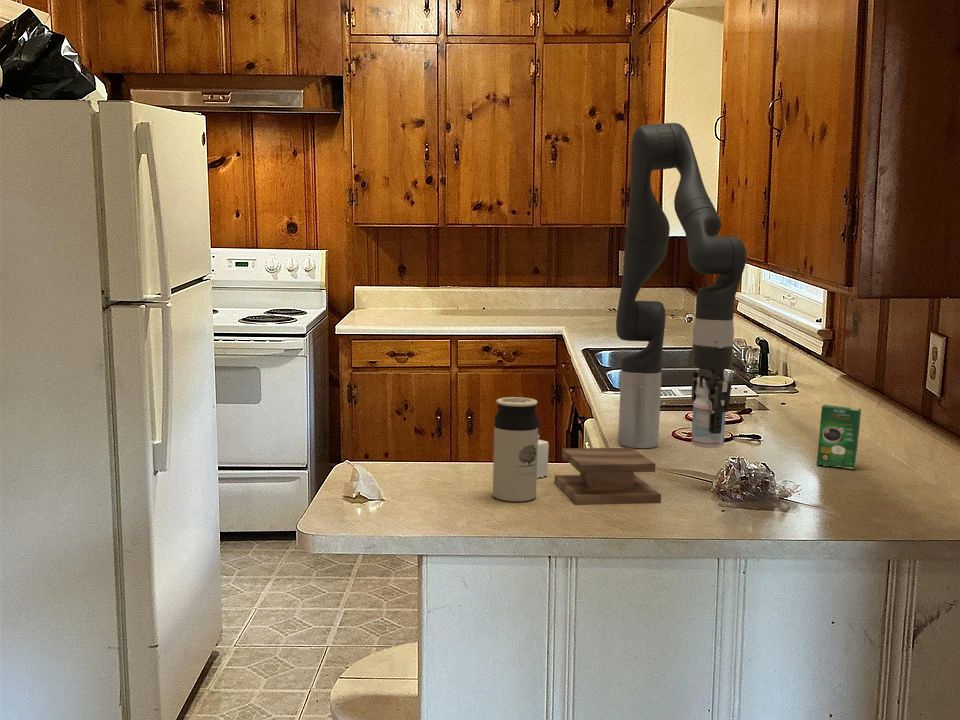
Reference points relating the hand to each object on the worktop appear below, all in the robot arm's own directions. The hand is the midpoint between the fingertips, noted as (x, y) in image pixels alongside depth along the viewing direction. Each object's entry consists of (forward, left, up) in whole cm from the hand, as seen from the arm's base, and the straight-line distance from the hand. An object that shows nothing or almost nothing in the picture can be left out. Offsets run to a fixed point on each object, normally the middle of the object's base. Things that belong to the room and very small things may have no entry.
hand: (708, 429), depth 199 cm
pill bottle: (0, 0, -3) cm, 3 cm away
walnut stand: (+1, -20, -12) cm, 23 cm away
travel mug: (+3, -38, -12) cm, 40 cm away
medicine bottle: (-13, -33, -12) cm, 38 cm away
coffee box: (-16, +36, -12) cm, 41 cm away
